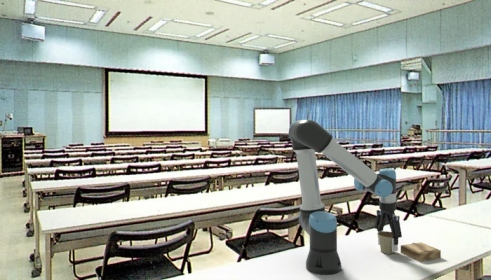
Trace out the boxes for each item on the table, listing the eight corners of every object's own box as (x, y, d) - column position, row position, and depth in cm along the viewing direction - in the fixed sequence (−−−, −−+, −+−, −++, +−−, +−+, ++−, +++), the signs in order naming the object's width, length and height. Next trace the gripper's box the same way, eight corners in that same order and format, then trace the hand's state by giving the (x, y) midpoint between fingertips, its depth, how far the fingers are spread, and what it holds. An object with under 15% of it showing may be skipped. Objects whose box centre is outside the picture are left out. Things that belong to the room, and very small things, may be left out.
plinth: (419, 261, 170) (419, 253, 169) (400, 252, 181) (400, 244, 181) (440, 257, 173) (440, 249, 173) (421, 249, 185) (421, 241, 184)
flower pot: (400, 255, 177) (400, 237, 176) (378, 254, 179) (378, 236, 178) (396, 249, 186) (396, 231, 186) (376, 248, 188) (376, 230, 187)
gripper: (410, 205, 172) (410, 254, 173) (379, 196, 193) (379, 239, 194) (396, 207, 169) (396, 256, 171) (366, 197, 190) (367, 241, 192)
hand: (387, 247), depth 182 cm, fingers closed on flower pot, 9 cm apart
